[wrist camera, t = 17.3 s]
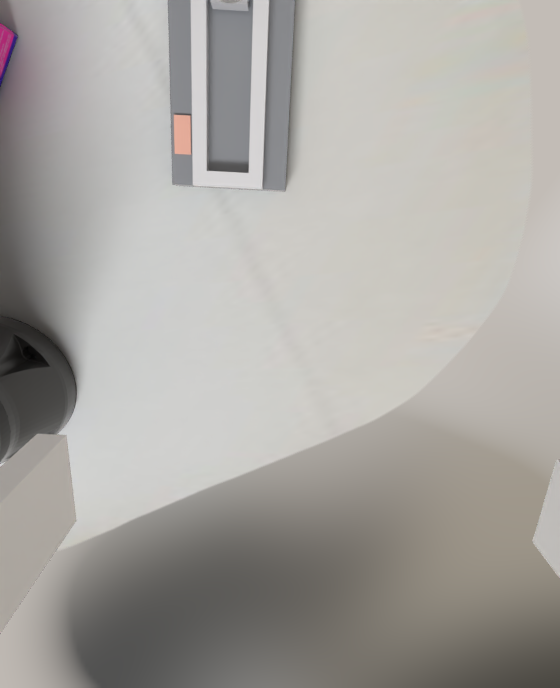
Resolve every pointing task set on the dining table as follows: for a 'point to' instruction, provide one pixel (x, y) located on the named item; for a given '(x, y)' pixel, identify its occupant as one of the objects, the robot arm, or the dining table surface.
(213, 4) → the switch handle
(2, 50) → the supplement box
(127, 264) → the dining table surface
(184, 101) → the switch panel
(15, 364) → the robot arm
